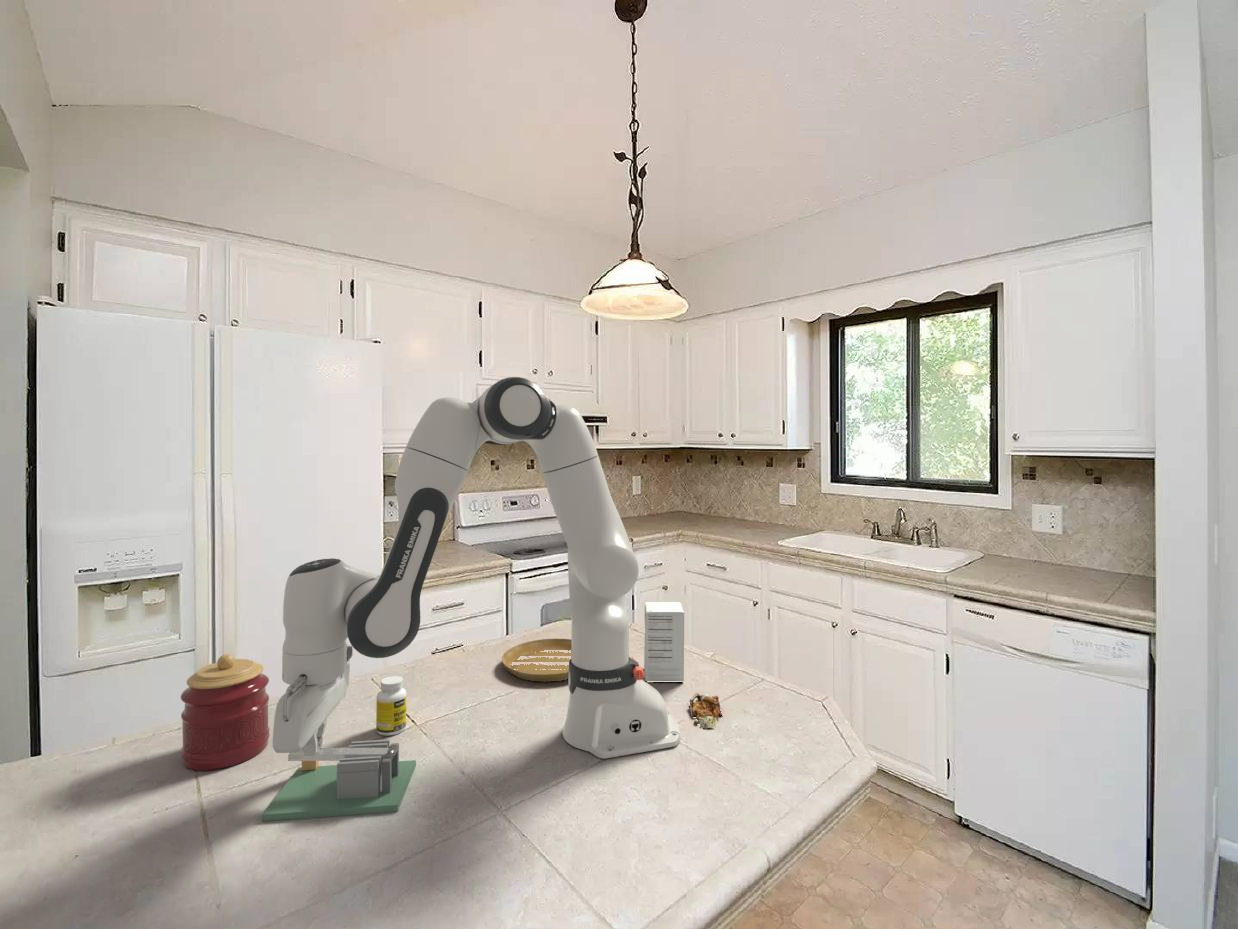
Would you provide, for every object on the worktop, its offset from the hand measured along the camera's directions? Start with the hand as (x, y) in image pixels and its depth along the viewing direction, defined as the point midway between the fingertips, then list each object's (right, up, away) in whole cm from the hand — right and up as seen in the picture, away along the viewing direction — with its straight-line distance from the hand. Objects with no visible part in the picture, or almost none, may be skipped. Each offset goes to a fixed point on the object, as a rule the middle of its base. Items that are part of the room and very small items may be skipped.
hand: (313, 751), depth 90 cm
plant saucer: (+31, -6, +54) cm, 62 cm away
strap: (+4, -2, +1) cm, 5 cm away
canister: (-22, -7, +12) cm, 26 cm away
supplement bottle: (+4, -7, +21) cm, 22 cm away
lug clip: (-3, -6, +4) cm, 8 cm away
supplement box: (+59, -6, +48) cm, 76 cm away
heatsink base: (+5, -7, +1) cm, 8 cm away
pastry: (+66, -7, +28) cm, 72 cm away
